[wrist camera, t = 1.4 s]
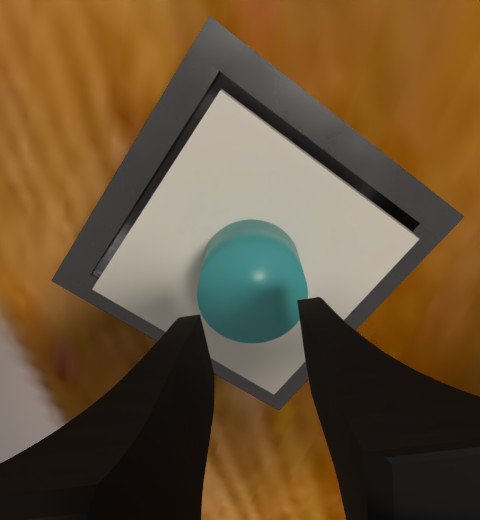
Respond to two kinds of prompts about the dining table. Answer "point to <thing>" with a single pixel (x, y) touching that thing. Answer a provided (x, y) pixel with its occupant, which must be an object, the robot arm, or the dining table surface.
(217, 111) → the plunger
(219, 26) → the press housing
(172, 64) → the dining table surface
